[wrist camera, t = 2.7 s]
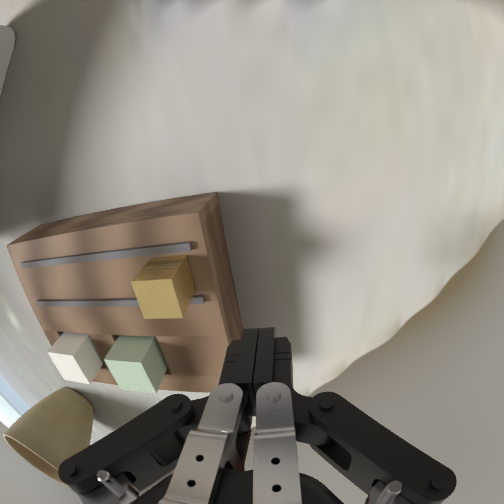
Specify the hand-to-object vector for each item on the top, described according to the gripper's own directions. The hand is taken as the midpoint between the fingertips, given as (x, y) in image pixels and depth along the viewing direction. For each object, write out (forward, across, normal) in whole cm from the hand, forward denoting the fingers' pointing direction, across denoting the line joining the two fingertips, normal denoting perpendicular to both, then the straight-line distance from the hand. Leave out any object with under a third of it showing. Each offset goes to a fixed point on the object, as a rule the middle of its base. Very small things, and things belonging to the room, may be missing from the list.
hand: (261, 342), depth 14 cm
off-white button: (+10, +21, +9) cm, 25 cm away
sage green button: (+10, +13, +8) cm, 19 cm away
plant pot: (+15, +38, +28) cm, 49 cm away
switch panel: (+14, +15, +4) cm, 21 cm away
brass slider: (+8, +7, 0) cm, 11 cm away
